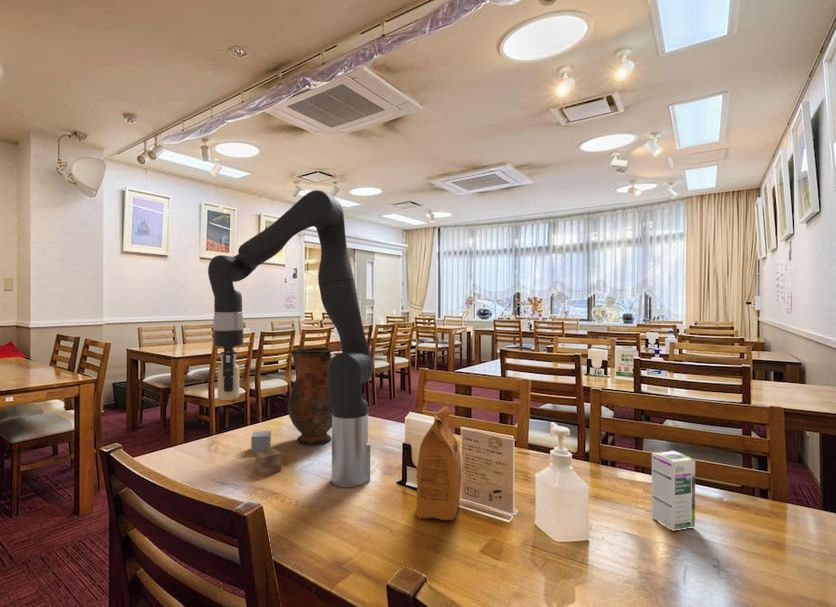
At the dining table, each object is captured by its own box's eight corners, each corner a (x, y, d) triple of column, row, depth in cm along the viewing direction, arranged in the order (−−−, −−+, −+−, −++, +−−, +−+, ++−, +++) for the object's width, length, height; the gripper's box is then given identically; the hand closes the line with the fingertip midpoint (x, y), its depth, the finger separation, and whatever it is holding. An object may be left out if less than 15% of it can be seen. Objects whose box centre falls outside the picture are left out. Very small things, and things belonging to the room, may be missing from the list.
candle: (243, 395, 119) (243, 360, 119) (232, 400, 114) (232, 363, 114) (224, 395, 120) (224, 360, 120) (213, 399, 115) (213, 363, 114)
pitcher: (303, 430, 148) (303, 345, 147) (360, 435, 143) (360, 347, 142) (276, 446, 132) (276, 351, 131) (339, 453, 127) (339, 354, 126)
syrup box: (673, 533, 86) (674, 462, 85) (650, 518, 91) (651, 451, 91) (695, 529, 87) (696, 459, 87) (671, 514, 93) (672, 449, 92)
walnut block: (274, 465, 118) (274, 447, 117) (280, 471, 114) (280, 453, 114) (255, 470, 114) (255, 451, 114) (262, 476, 111) (262, 457, 110)
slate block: (270, 446, 132) (270, 430, 132) (268, 452, 127) (268, 435, 127) (253, 447, 131) (253, 431, 131) (251, 453, 126) (251, 436, 126)
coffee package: (466, 499, 99) (467, 406, 98) (455, 527, 87) (456, 421, 86) (426, 493, 102) (426, 402, 101) (409, 519, 90) (410, 417, 89)
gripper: (243, 329, 112) (243, 393, 112) (242, 326, 125) (243, 383, 125) (211, 330, 109) (212, 396, 109) (214, 326, 122) (215, 385, 122)
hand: (228, 388), depth 117 cm, fingers closed on candle, 5 cm apart
